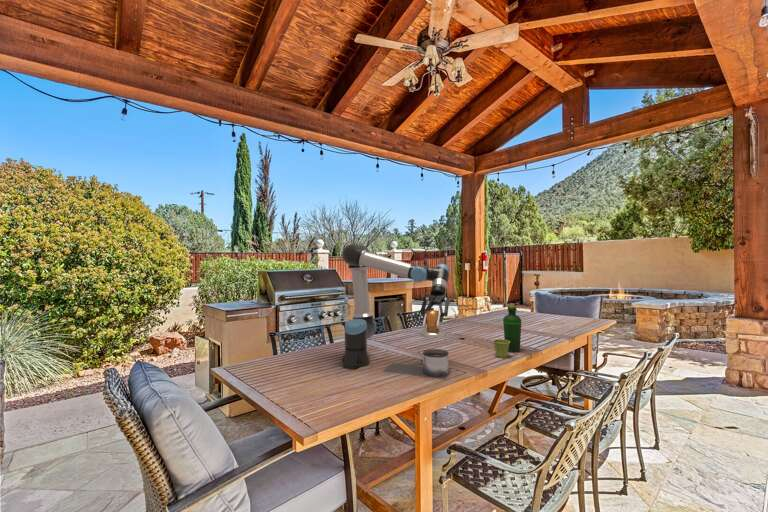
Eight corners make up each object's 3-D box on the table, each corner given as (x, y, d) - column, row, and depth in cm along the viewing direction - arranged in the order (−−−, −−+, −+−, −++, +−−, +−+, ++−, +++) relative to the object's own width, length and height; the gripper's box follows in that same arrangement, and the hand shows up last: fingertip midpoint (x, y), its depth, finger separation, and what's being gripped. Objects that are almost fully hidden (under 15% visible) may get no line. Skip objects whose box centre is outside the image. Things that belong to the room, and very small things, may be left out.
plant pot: (511, 359, 193) (511, 343, 193) (493, 358, 195) (493, 342, 195) (509, 354, 202) (508, 339, 202) (492, 353, 204) (492, 338, 204)
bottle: (523, 349, 212) (523, 303, 212) (519, 354, 203) (519, 306, 203) (505, 347, 218) (505, 302, 218) (501, 351, 209) (500, 304, 209)
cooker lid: (416, 336, 165) (415, 312, 165) (423, 330, 177) (423, 308, 177) (443, 338, 160) (442, 313, 160) (449, 332, 172) (448, 309, 172)
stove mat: (381, 373, 172) (381, 371, 172) (392, 364, 184) (392, 363, 184) (445, 381, 159) (445, 379, 159) (452, 372, 172) (452, 370, 172)
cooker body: (419, 375, 165) (419, 354, 165) (427, 367, 176) (426, 348, 176) (445, 378, 160) (445, 357, 160) (451, 370, 171) (450, 350, 171)
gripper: (458, 294, 179) (452, 332, 164) (422, 293, 187) (413, 329, 171) (455, 284, 174) (449, 323, 159) (419, 284, 182) (410, 321, 167)
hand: (430, 326), depth 165 cm, fingers closed on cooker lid, 6 cm apart
